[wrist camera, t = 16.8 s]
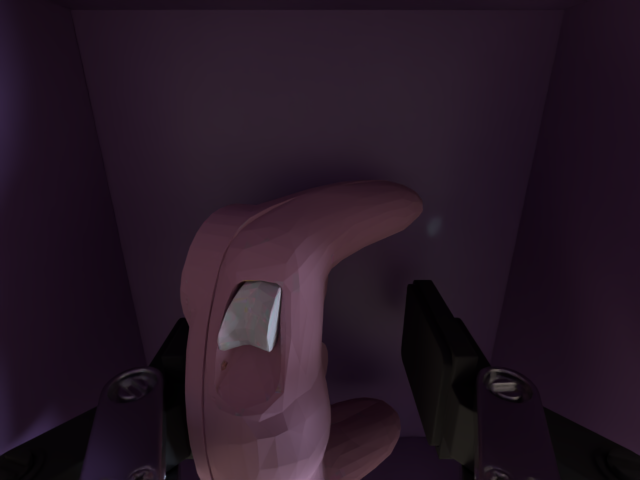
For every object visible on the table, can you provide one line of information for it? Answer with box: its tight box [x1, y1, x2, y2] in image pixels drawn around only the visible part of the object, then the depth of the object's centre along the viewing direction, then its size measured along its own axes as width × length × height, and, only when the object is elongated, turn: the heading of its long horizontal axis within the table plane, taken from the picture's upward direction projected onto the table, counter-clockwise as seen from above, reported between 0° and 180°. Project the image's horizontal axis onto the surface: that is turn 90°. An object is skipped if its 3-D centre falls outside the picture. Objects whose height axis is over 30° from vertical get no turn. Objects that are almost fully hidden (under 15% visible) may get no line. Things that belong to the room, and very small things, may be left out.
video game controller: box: [180, 180, 423, 480], centre depth 10 cm, size 10×5×7 cm, turn 0°
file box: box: [0, 0, 640, 480], centre depth 10 cm, size 18×16×8 cm
